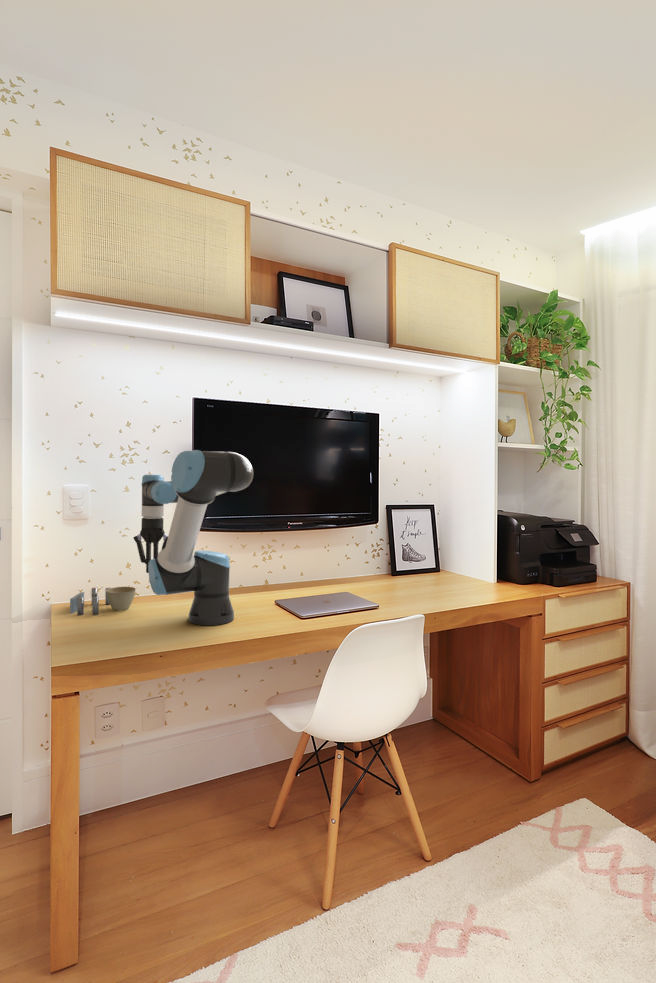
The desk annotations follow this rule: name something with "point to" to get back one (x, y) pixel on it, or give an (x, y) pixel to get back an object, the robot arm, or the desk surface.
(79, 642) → the desk surface
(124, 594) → the flower pot
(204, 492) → the robot arm
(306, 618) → the desk surface
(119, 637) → the desk surface
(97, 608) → the pin cradle
